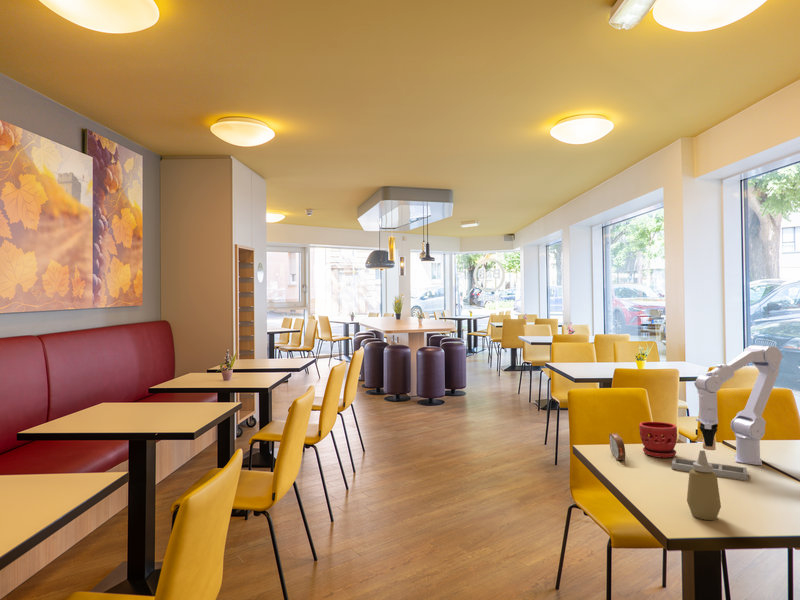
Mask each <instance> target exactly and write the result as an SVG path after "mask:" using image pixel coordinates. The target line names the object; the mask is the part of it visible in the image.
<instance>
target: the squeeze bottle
mask: <svg viewBox="0 0 800 600" xmlns="http://www.w3.org/2000/svg"><path fill="white" fill-rule="evenodd" d="M698 453H699V454H698V458H697V460H696V461H697V462H693V469H692V470H691V471H689V473H688V484H687V494H686V495H687V496H686V502H687V506H688V508H689V511H690V513H691V515H692V516H693V517H695V518H697V519H701V520H705V521H714V520H717V518H718V515H719V513H720V510H721V508H722V505H721V504H722V503H721V497H720V490H719V482H718V476H717V475H716V474H715V473H714V472H712V471H713V466H712V465H711V464H709V463H710V462H709V461H708V457H707V454H706V451H705V450H699V452H698ZM708 462H709V463H708Z"/></svg>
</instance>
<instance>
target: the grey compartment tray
mask: <svg viewBox="0 0 800 600" xmlns="http://www.w3.org/2000/svg"><path fill="white" fill-rule="evenodd" d="M697 461H698V460H694V459H693V460H692V459H687V458H680V457H679V458H678V457H673V459H672V461H671V470H674V469H676V471H681V470H682V472H686V473H688V472H689V471H691V470H692V469H693V462H697ZM708 463H709V464H711V465H712V466H713V471H712V472H714V473H715V474H716V475H717V477H720V478H726V477H727V478H726V479H733V480H741V481H747V482H748V470H747V467H743V466H737V465H728V464H723V463H714V462H709V461H708Z"/></svg>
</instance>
